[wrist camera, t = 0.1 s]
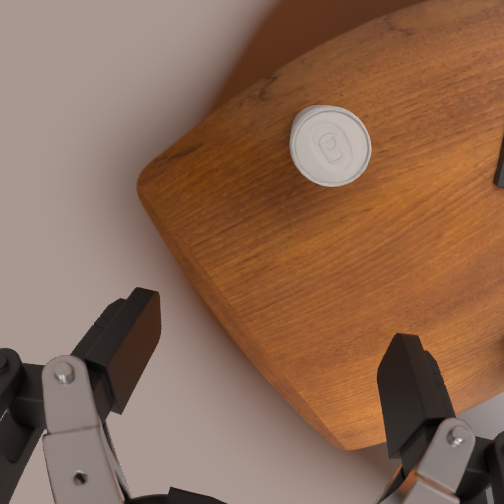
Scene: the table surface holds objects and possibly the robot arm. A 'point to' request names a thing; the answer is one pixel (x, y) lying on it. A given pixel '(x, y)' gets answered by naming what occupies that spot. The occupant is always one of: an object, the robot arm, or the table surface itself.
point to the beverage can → (329, 145)
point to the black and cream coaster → (500, 169)
